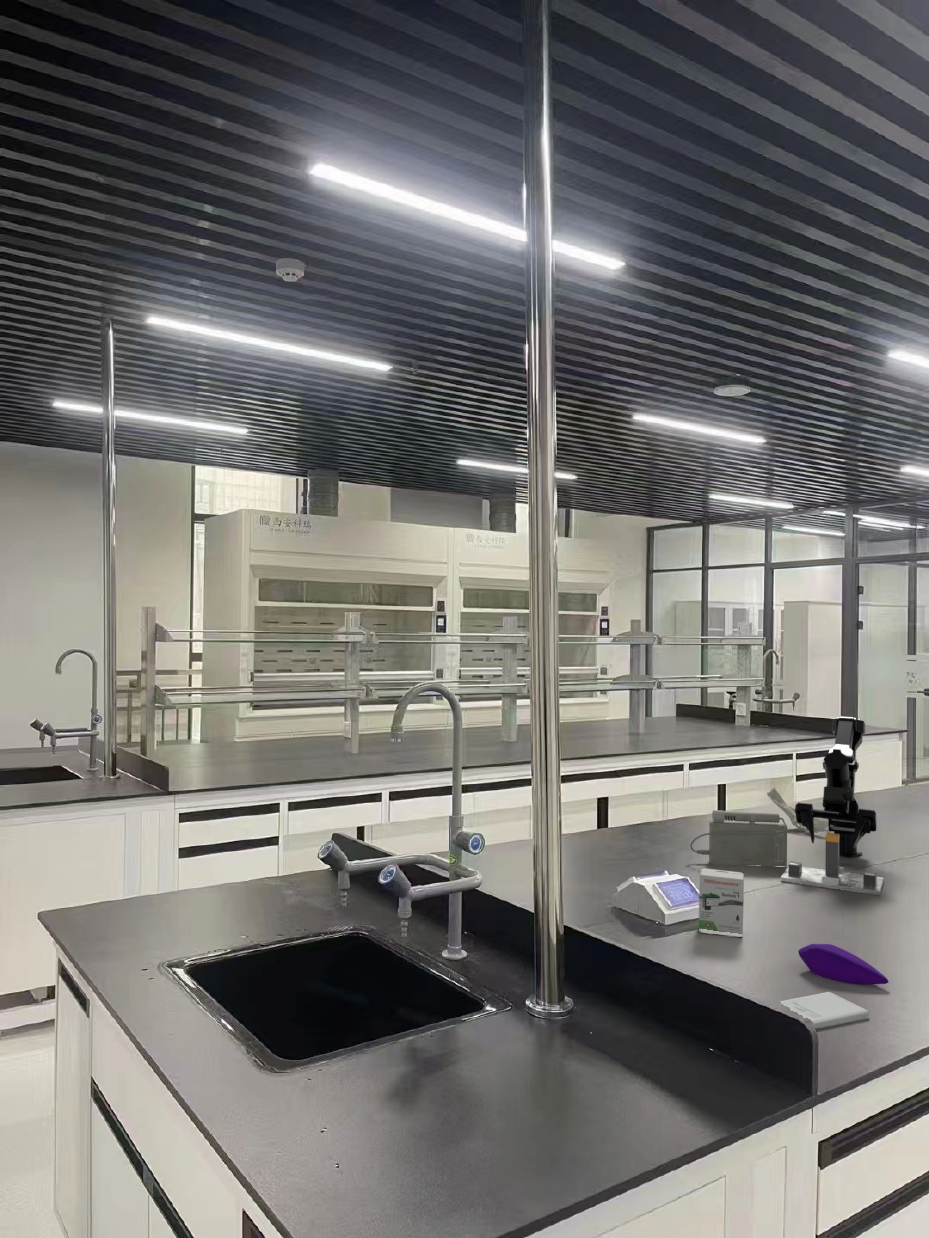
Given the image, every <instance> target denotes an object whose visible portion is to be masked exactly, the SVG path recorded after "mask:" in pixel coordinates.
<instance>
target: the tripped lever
mask: <svg viewBox="0 0 929 1238" xmlns="http://www.w3.org/2000/svg"><path fill="white" fill-rule="evenodd" d="M824 864H825V865H824V866H825V868H824V870H825V876H831V877H839V867H840V855H839V834H834V832H830V833H827V832H826V834H825V863H824Z"/></svg>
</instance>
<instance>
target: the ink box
mask: <svg viewBox="0 0 929 1238" xmlns="http://www.w3.org/2000/svg"><path fill="white" fill-rule="evenodd" d="M699 871H700V872H699V890H698V891H699V892H698V893H699V896H698V899H699V900H698V928H702V929H707V930H713V931H719V932H730V933H738V934H743V935H744V902H745V901H744V900H745V899H744V897H745V896H744V895H745V893H744V892H745V888H744V887H745V886H744V885H745V876H744V873H742V872H739V871H731V870H722V869H713V868H705V867H704V868H702V869H700V870H699Z"/></svg>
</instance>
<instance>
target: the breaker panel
mask: <svg viewBox="0 0 929 1238" xmlns="http://www.w3.org/2000/svg"><path fill="white" fill-rule="evenodd" d="M877 874H878V873H877V872H875V871H868V870H865V871H863V874H861V873H860V874H858V873H851V872H844V867H843V866H839V877H831V876H825V869H821V868H815V867H807V866H803V863H802V862H798V861H790V862H789V863H787V867H786V868H785V871H784V872H783V873H782V874H781V876H780V882H782V881H785V882H784V883H789V882H792V883H791V884H796V883H801V884H800V885H803V884H805V885H804V886H810V885H811V887H817V888H825V889H832V890H838V889H840V890H839V891H845V890H846V891H847V892H852V893H860V894H866V895H874V896H879V897H880V896H881V892H882V889H883V885H884V879H885V878H884V877H881V876H878V875H877Z"/></svg>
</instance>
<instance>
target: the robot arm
mask: <svg viewBox="0 0 929 1238" xmlns="http://www.w3.org/2000/svg"><path fill="white" fill-rule="evenodd" d="M831 729H832V730H831V731H832V733H833V734H834V735H835V736H834V737H835V739H834V740H835V741H834V746H833V747H831V748H829V749H828V752H827V753H826V755H825V756H824V757H823V760H822V769H823V770H824V773H825V779H826V786H824V787H823V795H822V796H823V797H822V808H823V809H816V808H814V807H813V803H810V802H809V803H807V802H797V803H796V804H795V807H794V808H795V813H796V820H797V822H798V823H801V824H802V826H806V828H807V830H808V831H807V832H808V834H809V837H810V840H811V843H812V844H814V843H815V832H814V822H813V821H814V818H816V819H825V820H827V822H828V825H829V826H828V830H829V831H828V832H830V833H834V834H839V856H842V857H845V858H846V857H847V858H854V857H857V856H863V852H860V851H858V843H859V842H860V840H861V839H862V838H863V837H864V836H865V835H866V834H871V832H876V831H877V829H878V828H877V827H878V825H877V824H878V820H877V812H876V811H875V809H869V808H860V805H859V803H858V802H857V800H856V799H855V784H856V783H855V780H856V773H857V772H858V769H859V767H860V763H859V762H858V760H857V758H856V757H857V750H858V748H859V747H860V746H861V745H862V744H863V737H864V736H866V722H865V721H864V720H862V719H860V718H856V717H854V716H842V715H841V716H840V715H839V717H838V716H837V717H836V718H834V719H832V727H831Z"/></svg>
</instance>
